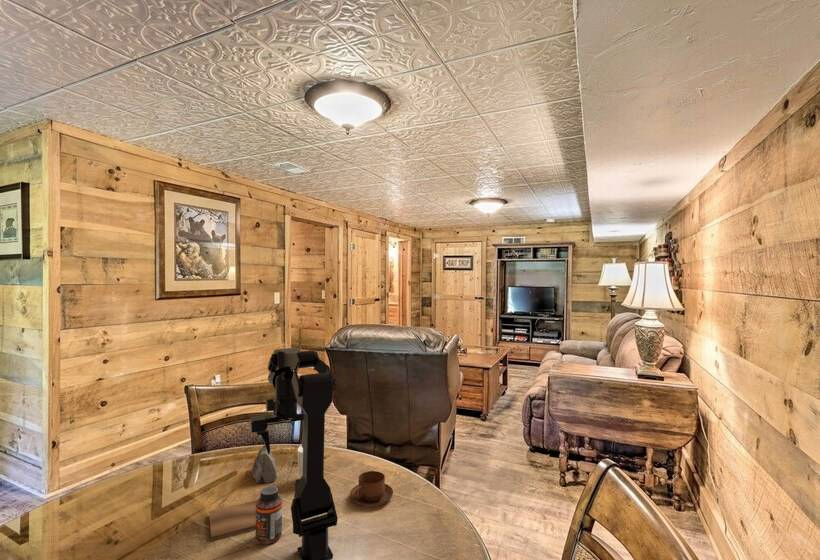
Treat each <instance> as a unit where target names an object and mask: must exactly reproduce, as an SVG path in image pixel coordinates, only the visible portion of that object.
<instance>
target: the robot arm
mask: <svg viewBox="0 0 820 560" xmlns="http://www.w3.org/2000/svg"><path fill="white" fill-rule="evenodd" d="M308 368H313V370H315V371H316V373H309V374H301V375H300V376H299V375H298V373H299V370H300V369H308ZM267 370H268V372H269V374H268V376H267V381H268V384H270V386H272V387H273V388H274V389H275V400H274V398H272V399H271V398H270V399H266V401H265V409H266V410H265V411H266V412H272V414H273V417H267V416H266V415H265V414H261V415H252V416H250V418H249V421H248V428H249V430H250V432H251V433H255V434H256V435H257V436H261V437H262V440H263V442H264V443H263V444H264V445H265V446H266V449H267V452H268V454H270V450H271V445H270V431H269V430H268V426H274V425H280V424H287V423H292V422H300V421H302V433H301V446H302V448H303V475H302V477H301V478H300V479H299V478H298V479H296V480H295V482H294V496H293V499H292V501H291V505H290V513H291V521H292V533H293V535H297V536H298V537H299V538H301V546H298V547H297V549H296V550H297V554H298V556H299V559H300V560H331V559H333V558H334V553H333V552H332V549H331V548H330V546H329V528H331V527H335V526H337V525H338V519H339V518H338V514H337V509H336V506H335V502H334V498H333V494H332V489H331V487H330V485H329V484H328V482H327V481H326V479H325V477H324V473H325V472H324V471H325V466H324V465H325V428H326V427H325V425H326V424H325V423H326V417H325V416H326V413H327V411H328V409H329V408H330V407H331V405H332V403H333V400H334V399H333V398H334V397H333V396H334V392H335V390H336V381H335V378H334V376H333V372H332V370H331V367H330V366H329V365H328V364H327V363H326V362H325V361H323V360H321V359H320V357H319V355H318V352H317V351H316V350H313V349H312V350H303V351H301V349H299V348H298V347H287V348H286V347H285V348H275V349H274V350H273V353H271V355H270V357H269V361H268V364H267ZM298 406H299V407H300V409H301V410H302V411H303V412H301V413H298Z"/></svg>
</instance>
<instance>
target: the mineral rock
mask: <svg viewBox="0 0 820 560" xmlns="http://www.w3.org/2000/svg"><path fill="white" fill-rule="evenodd" d="M251 469H252V471H251V476H253V478H254V479H255V482H256V483H258V484H264V483H267V484H270V483H271V482H273V481H276V480H277V479H278V474H279V473H278V471H277V469H278V467H277V465H276V460H275V458H274V456H273V454H272V450H271V449H270V454H268V452H267V449H266V446H265V444H264V445H262V446H261V447H260V449H259V450H258V452H257V456H256V457H255V459H254V460H253V464H252V468H251Z"/></svg>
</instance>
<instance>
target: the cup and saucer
mask: <svg viewBox="0 0 820 560" xmlns="http://www.w3.org/2000/svg"><path fill="white" fill-rule="evenodd" d="M385 477H386V476H385V474H384V473H383V472H381V471H376V470H370V471H369V470H368V471H364V472H362V473H360V474H359V476H358V484H357V485H355V486H354V487H353V488H352V489H351V490H350V493H349V496H350V499H351V500H352V501H353V502H354V503H355V504H357V505H359V506H363V507H377V506H380V505H384V504H386V503H387V502H388V501H390V499H392V497H393V493H394V490H393V488H392V487H391V486H390V485H389V484H386V482H385V481H386V480H385V479H386V478H385Z"/></svg>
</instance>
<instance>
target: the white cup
mask: <svg viewBox="0 0 820 560" xmlns="http://www.w3.org/2000/svg"><path fill="white" fill-rule="evenodd" d="M297 470H298V471H297V472H298V476H299V477H298V479H300V478H301V477H302V475H303V448H302V445H300V446H299V447H297Z"/></svg>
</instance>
